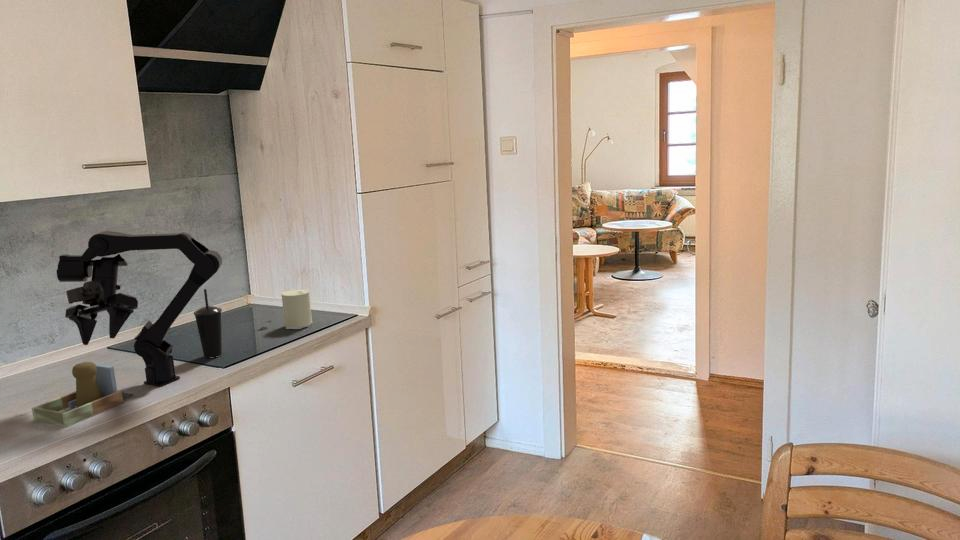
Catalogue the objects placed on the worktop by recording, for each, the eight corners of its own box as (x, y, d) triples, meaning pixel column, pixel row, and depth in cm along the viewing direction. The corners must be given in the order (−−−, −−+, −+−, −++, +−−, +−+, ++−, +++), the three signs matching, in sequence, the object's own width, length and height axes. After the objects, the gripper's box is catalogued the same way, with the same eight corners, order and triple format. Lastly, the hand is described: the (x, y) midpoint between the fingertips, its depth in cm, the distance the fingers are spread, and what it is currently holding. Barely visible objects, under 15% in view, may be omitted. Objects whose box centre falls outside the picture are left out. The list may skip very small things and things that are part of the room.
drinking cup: (227, 357, 202) (219, 290, 198) (199, 361, 199) (190, 293, 195) (226, 350, 209) (218, 285, 205) (199, 354, 206) (190, 288, 202)
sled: (95, 397, 174) (89, 363, 172) (118, 401, 171) (113, 366, 169) (69, 408, 168) (63, 372, 166) (93, 412, 164) (87, 376, 163)
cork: (109, 401, 171) (102, 358, 169) (96, 411, 165) (89, 366, 163) (84, 402, 171) (77, 360, 169) (71, 412, 165) (63, 368, 163)
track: (91, 397, 175) (89, 386, 174) (123, 402, 170) (121, 391, 169) (33, 420, 162) (31, 407, 161) (66, 426, 157) (64, 414, 156)
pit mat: (111, 391, 178) (111, 390, 178) (134, 395, 175) (133, 393, 175) (97, 397, 174) (97, 395, 174) (120, 401, 171) (119, 399, 171)
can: (298, 331, 227) (294, 295, 224) (278, 328, 231) (274, 292, 229) (318, 323, 234) (315, 289, 232) (298, 321, 239) (295, 286, 237)
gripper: (48, 280, 172) (40, 342, 166) (102, 264, 165) (96, 328, 160) (89, 291, 181) (83, 350, 176) (141, 276, 174) (137, 337, 169)
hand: (98, 341), depth 170 cm, fingers open, 9 cm apart
